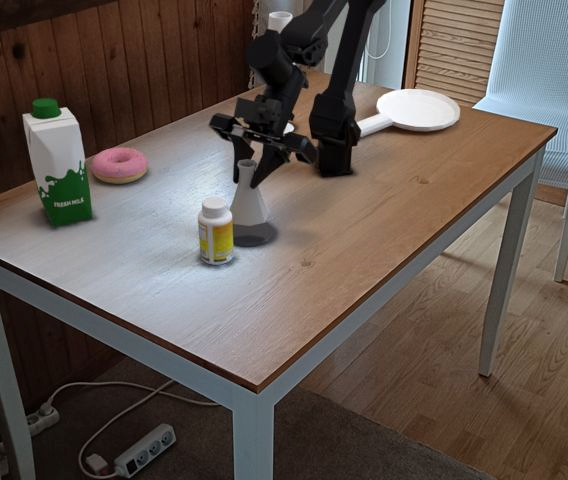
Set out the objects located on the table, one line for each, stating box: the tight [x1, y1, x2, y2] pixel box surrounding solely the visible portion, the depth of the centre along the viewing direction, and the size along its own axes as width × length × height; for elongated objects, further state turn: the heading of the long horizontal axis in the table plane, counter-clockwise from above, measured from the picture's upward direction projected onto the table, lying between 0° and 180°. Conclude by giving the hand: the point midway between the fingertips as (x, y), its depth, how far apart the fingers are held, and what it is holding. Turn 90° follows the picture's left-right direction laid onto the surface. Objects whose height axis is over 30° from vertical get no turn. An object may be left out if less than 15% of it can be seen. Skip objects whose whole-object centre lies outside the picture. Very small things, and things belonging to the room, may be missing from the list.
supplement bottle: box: [197, 196, 234, 266], centre depth 121 cm, size 6×6×10 cm
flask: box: [228, 159, 270, 226], centre depth 126 cm, size 7×7×10 cm
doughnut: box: [90, 146, 149, 185], centre depth 146 cm, size 11×11×4 cm
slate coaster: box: [232, 221, 275, 248], centre depth 131 cm, size 9×9×1 cm
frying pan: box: [356, 88, 461, 139], centre depth 167 cm, size 35×19×5 cm, turn 128°
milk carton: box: [22, 97, 93, 228], centre depth 129 cm, size 9×9×20 cm
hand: (243, 185), depth 124 cm, fingers closed on flask, 3 cm apart
